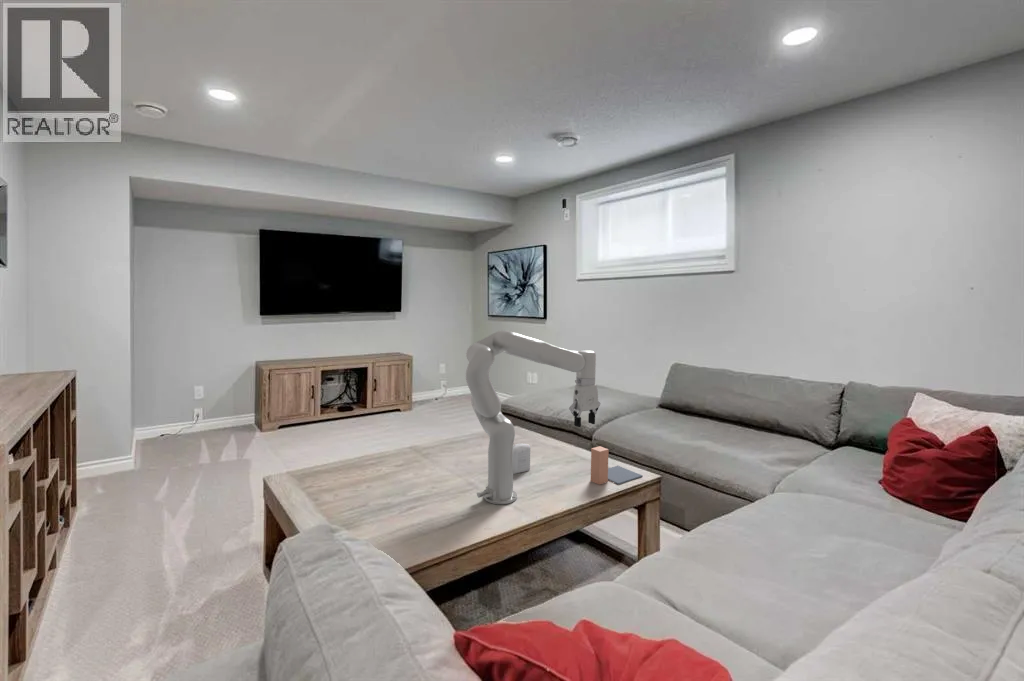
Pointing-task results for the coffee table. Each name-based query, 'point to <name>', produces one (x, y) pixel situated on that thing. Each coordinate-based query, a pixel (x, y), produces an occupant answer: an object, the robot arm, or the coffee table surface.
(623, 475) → the mat
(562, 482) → the coffee table surface
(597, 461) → the terracotta block
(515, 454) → the photo printer
